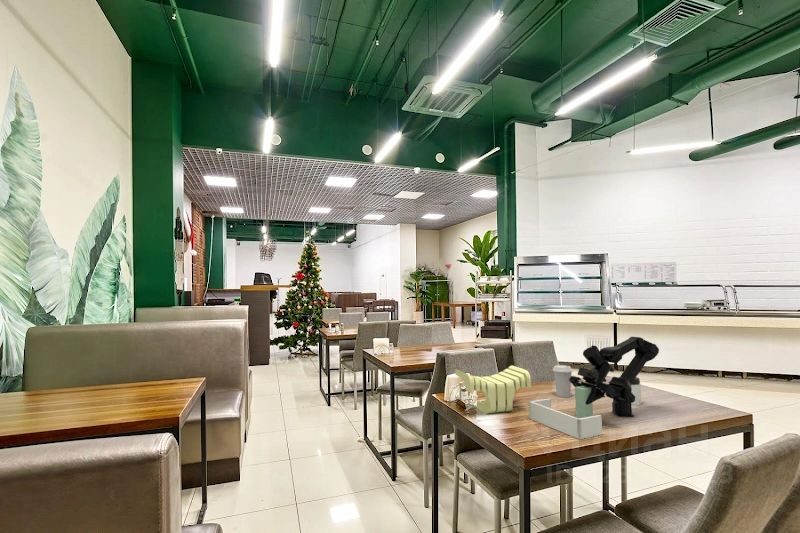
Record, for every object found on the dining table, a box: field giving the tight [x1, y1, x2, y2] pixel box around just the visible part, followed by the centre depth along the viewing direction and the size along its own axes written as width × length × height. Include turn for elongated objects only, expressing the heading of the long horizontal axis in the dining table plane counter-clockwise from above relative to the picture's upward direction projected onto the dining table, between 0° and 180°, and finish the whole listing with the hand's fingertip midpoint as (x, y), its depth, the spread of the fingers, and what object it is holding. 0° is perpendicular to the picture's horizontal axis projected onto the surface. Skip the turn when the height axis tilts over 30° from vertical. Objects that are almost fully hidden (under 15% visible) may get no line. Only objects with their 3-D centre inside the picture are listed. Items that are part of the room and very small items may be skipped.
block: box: [574, 386, 594, 419], centre depth 157 cm, size 4×4×12 cm
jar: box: [631, 376, 643, 406], centre depth 184 cm, size 9×8×12 cm
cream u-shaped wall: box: [528, 398, 603, 440], centre depth 152 cm, size 12×26×7 cm, turn 23°
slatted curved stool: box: [455, 365, 532, 414], centre depth 176 cm, size 30×16×18 cm, turn 105°
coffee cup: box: [552, 364, 573, 399], centre depth 197 cm, size 10×10×15 cm
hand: (581, 402), depth 157 cm, fingers closed on block, 4 cm apart
